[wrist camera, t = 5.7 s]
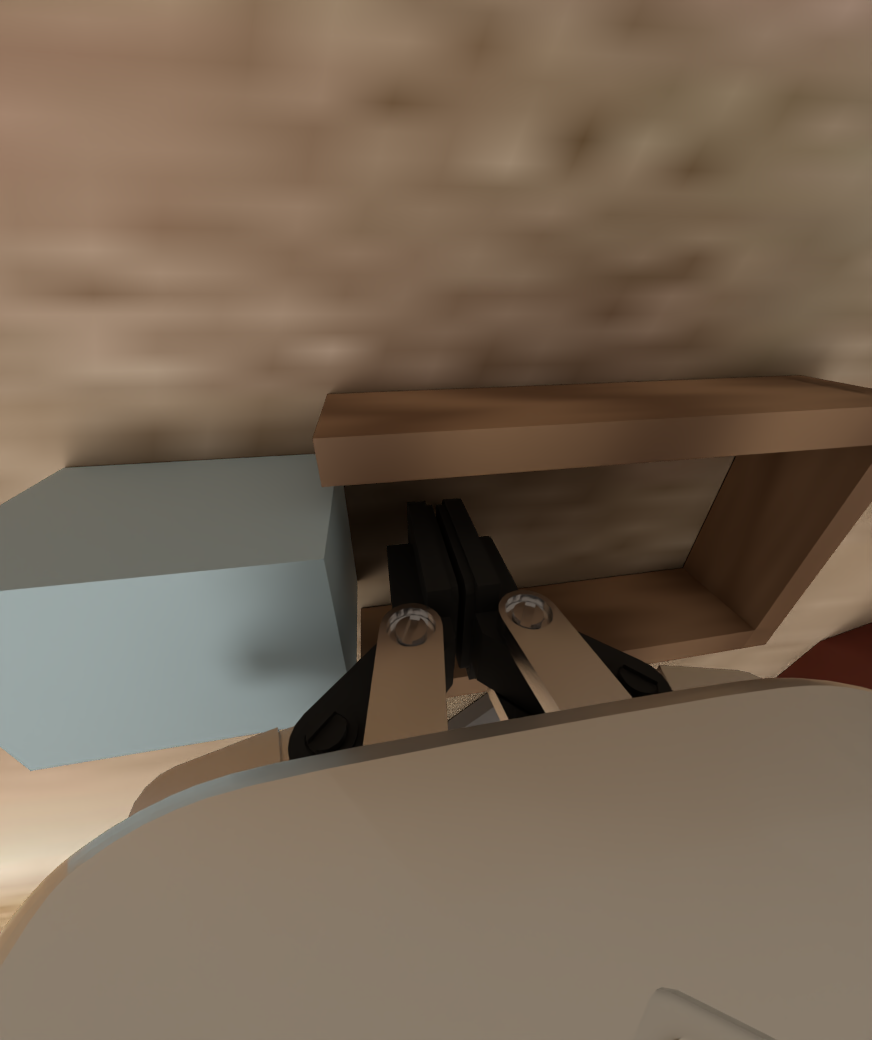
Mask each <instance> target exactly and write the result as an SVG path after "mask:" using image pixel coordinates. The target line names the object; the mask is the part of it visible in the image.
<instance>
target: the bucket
mask: <svg viewBox="0 0 872 1040" xmlns="http://www.w3.org/2000/svg"><path fill="white" fill-rule="evenodd" d="M776 678H804V679H816V680H827V681H833V682H839V683H844V684H849V685H855V686H860V687H864V688H868V689H871V690H872V623H870V624H867V625H864V626H861V627H859V628H856V629H853V630H850V631H848V632H845V633H842V634H839V635H837V636H834V637H831V638H828V639H825V640H823V641H820V642H819V643H818V644H816V645H815V646H814V647H813V648H812V649H810V650H809V651H808V652H807V653H805V654H804V655H803V656H802V657H801V658H799V659H798V660H797V661H796V662H795V663H793V664H792V665H791V666H790V667H788V668H787V669H786V670H785V671H784V672H782V673H781V674H780V675H779V676H778V677H776Z"/></svg>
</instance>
